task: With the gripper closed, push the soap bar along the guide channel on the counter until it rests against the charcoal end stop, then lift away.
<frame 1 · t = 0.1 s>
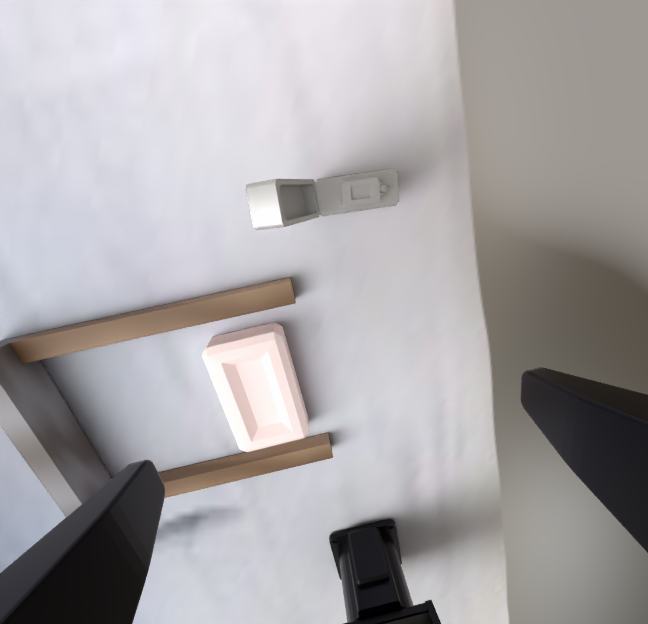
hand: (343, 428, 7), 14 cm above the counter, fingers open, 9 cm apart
guide channel: (196, 398, 23), on the counter
soap bar: (262, 378, 24), on the counter
lighter: (320, 198, 19), on the counter
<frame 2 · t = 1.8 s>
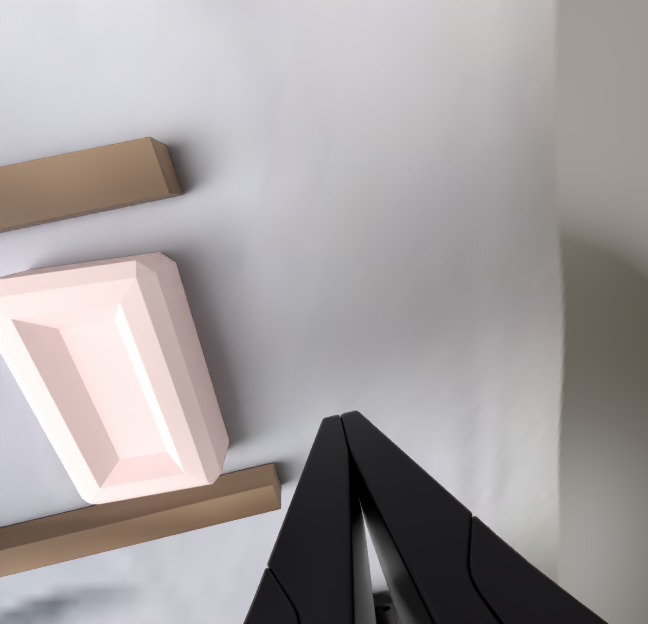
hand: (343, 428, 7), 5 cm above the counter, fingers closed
guide channel: (10, 402, 12), on the counter
soap bar: (144, 366, 13), on the counter
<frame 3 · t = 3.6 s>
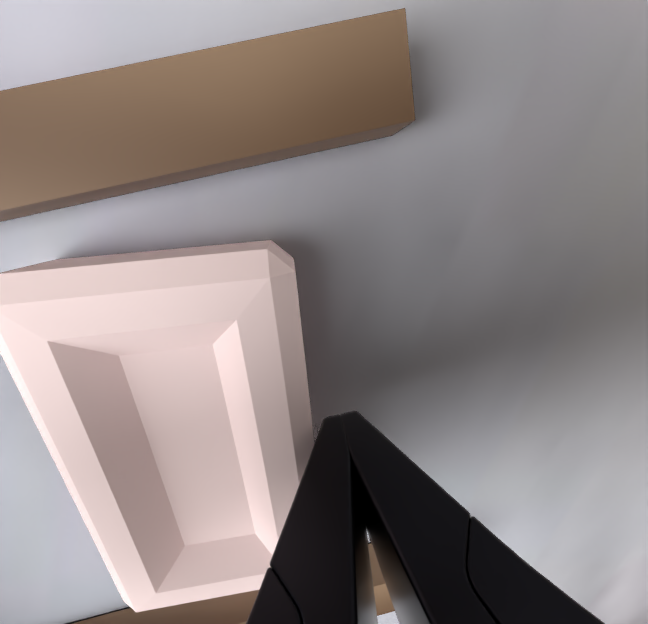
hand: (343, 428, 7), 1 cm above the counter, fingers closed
guide channel: (93, 460, 8), on the counter
soap bar: (216, 402, 9), on the counter
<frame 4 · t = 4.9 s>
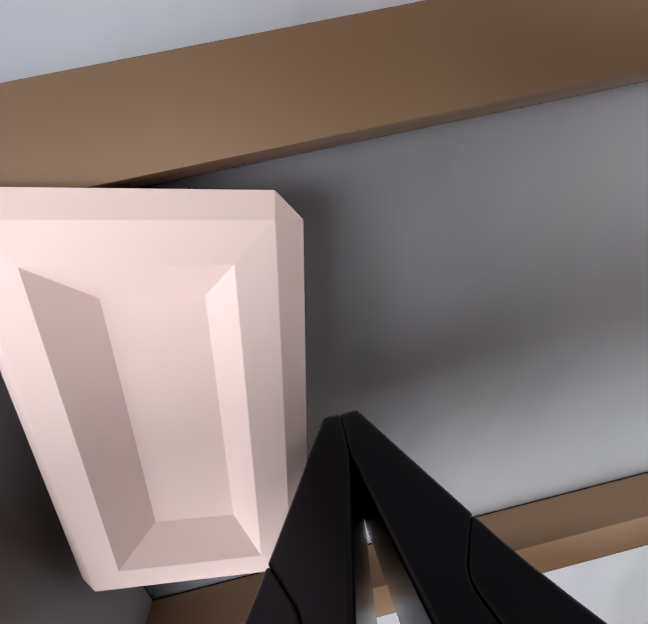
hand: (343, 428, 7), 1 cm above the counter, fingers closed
guide channel: (385, 388, 8), on the counter
soap bar: (203, 372, 8), on the counter, touching gripper
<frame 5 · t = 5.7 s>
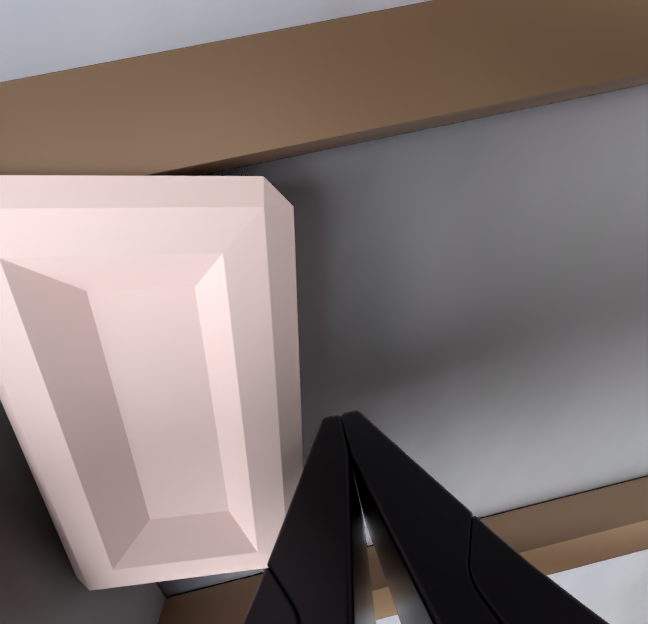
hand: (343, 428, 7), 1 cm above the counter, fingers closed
guide channel: (403, 386, 8), on the counter
soap bar: (197, 367, 8), on the counter, touching guide channel
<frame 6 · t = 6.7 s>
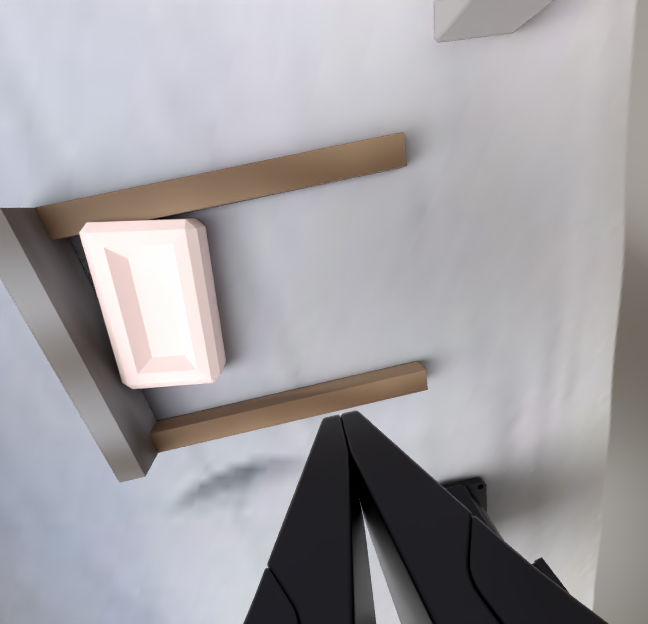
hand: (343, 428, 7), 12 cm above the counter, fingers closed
guide channel: (263, 307, 18), on the counter
soap bar: (172, 298, 18), on the counter
lighter: (443, 21, 15), on the counter
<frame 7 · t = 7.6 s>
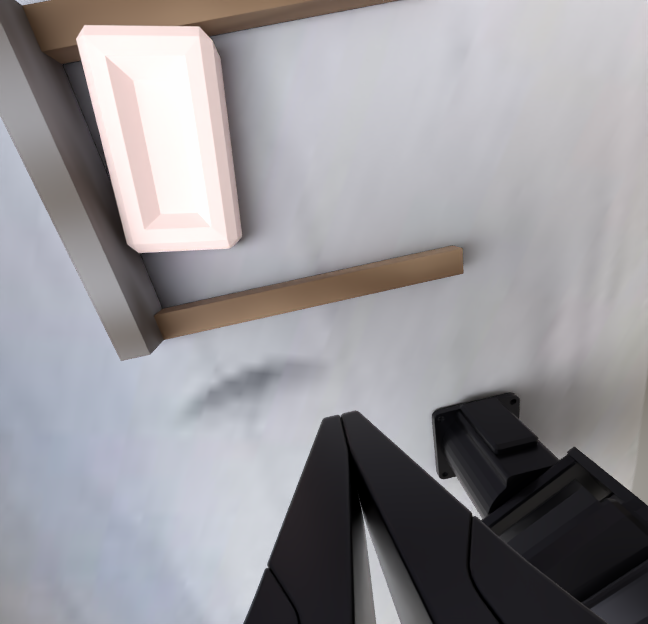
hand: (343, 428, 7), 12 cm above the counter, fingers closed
guide channel: (283, 168, 16), on the counter
soap bar: (182, 157, 16), on the counter
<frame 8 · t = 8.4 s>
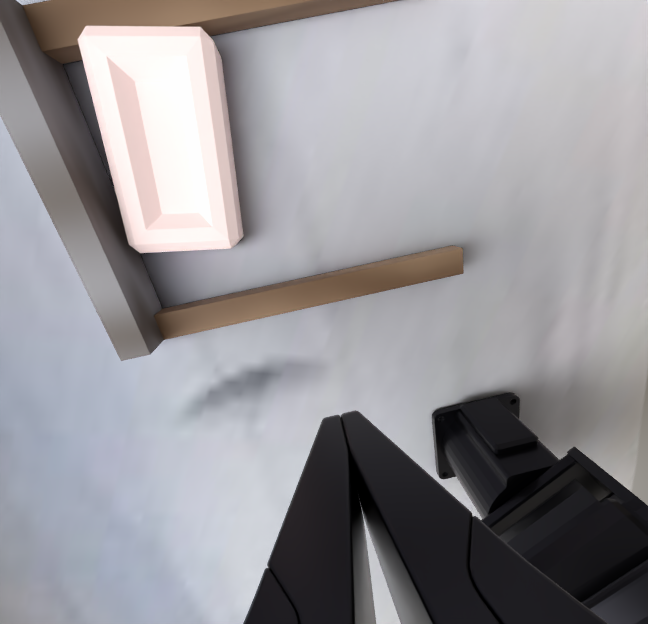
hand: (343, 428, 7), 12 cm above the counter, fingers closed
guide channel: (283, 168, 16), on the counter
soap bar: (183, 158, 16), on the counter
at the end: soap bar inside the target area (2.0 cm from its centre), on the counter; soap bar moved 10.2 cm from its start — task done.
